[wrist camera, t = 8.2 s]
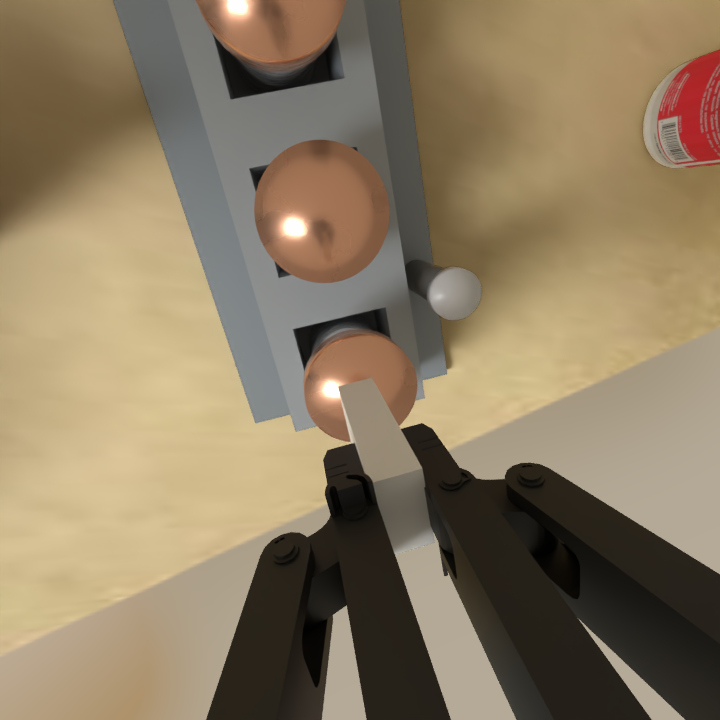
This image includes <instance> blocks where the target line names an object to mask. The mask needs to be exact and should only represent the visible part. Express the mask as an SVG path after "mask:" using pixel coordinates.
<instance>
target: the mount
mask: <svg viewBox="0 0 720 720" xmlns="http://www.w3.org/2000/svg"><path fill="white" fill-rule="evenodd" d="M113 2H114V5H115V8H116V11H117V14H118V17H119V20H120V23H121V26H122V29H123V32H124V35H125V38H126V41H127V44H128V47H129V50H130V53H131V56H132V58H133V61H134V64H135V67H136V70H137V73H138V76H139V79H140V82H141V85H142V88H143V91H144V94H145V97H146V100H147V103H148V106H149V109H150V112H151V115H152V118H153V121H154V124H155V127H156V130H157V133H158V136H159V139H160V142H161V145H162V147H163V150H164V153H165V156H166V159H167V162H168V165H169V168H170V171H171V174H172V177H173V180H174V183H175V186H176V189H177V192H178V195H179V198H180V201H181V204H182V207H183V210H184V213H185V216H186V219H187V222H188V225H189V228H190V231H191V234H192V236H193V239H194V242H195V245H196V248H197V251H198V254H199V257H200V260H201V263H202V266H203V269H204V272H205V275H206V278H207V281H208V284H209V287H210V290H211V293H212V296H213V299H214V302H215V305H216V308H217V311H218V314H219V317H220V320H221V323H222V325H223V328H224V331H225V334H226V337H227V340H228V343H229V346H230V349H231V352H232V355H233V358H234V361H235V364H236V367H237V370H238V373H239V376H240V379H241V382H242V385H243V388H244V391H245V394H246V397H247V400H248V403H249V406H250V409H251V412H252V414H253V417H254V420H255V423H259V422H262V421H266V420H270V419H274V418H278V417H282V416H286V415H290V414H291V418H292V421H293V424H294V428H295V431H296V432H297V431H301V430H305V429H308V428H312V427H316V426H317V425H316V424H315V423H314V421H313V420H312V419H311V417H310V415H309V413H308V410H307V407H306V403H305V397H304V386H303V378H304V371H305V367H306V365H307V362H308V360H309V358H310V356H311V355H310V349H309V343H308V338H309V332H310V329H311V327H312V325H313V324H317V323H321V322H325V321H329V320H334V319H338V318H342V317H346V316H350V315H354V314H359V315H360V316H362V317H363V318H364V319H365V321H366V322H367V323H368V325H369V326H370V327H371V329H372V330H373V331H377V332H380V333H382V334H384V335H386V336H388V337H389V338H390V339H392V340H393V341H394V342H395V343H396V344H397V345H398V346H399V347H400V348H401V349H402V351H403V352H404V353H405V354H406V355H407V357H408V358H409V359H410V361H411V363H412V364H413V367H414V369H415V372H416V376H417V395H416V399H415V401H416V400H419V399H423V398H425V395H424V389H423V382H422V380H426V379H430V378H434V377H437V376H441V375H445V374H447V368H446V361H445V353H444V345H443V337H442V329H441V322H440V315H438V314H437V313H435V312H434V311H433V310H432V309H431V307H430V306H429V304H428V301H427V300H426V299H424V298H422V297H421V296H419V295H418V294H416V293H414V292H413V291H411V290H410V289H408V285H407V279H406V272H405V266H406V264H407V263H409V262H410V261H412V260H423V261H425V262H428V263H431V264H433V259H432V252H431V244H430V236H429V228H428V221H427V213H426V205H425V197H424V189H423V182H422V174H421V166H420V158H419V150H418V143H417V135H416V127H415V119H414V112H413V104H412V96H411V88H410V80H409V73H408V65H407V57H406V49H405V42H404V34H403V26H402V18H401V10H400V3H399V0H346V3H345V7H344V10H343V14H342V17H341V20H340V23H339V26H338V29H337V31H336V33H335V36H334V38H333V39H332V41H331V42H330V44H329V46H328V47H327V48H326V49H325V51H324V52H323V53H322V54H321V55H320V56H319V57H318V58H316V63H315V69H314V72H313V76H312V78H311V80H310V82H309V84H308V85H306V86H301V87H295V88H290V89H285V90H279V91H274V92H269V93H263V94H258V93H256V92H255V91H254V90H252V89H251V88H250V87H249V86H248V85H247V83H246V82H245V81H244V79H243V78H242V76H241V75H240V73H239V71H238V68H237V66H236V63H235V60H234V57H233V55H232V54H231V53H230V52H229V51H228V50H226V49H225V48H224V47H223V45H222V44H221V43H220V42H219V41H218V40H217V39H216V37H215V36H214V35H213V33H212V32H211V30H210V29H209V27H208V25H207V24H206V22H205V20H204V18H203V16H202V14H201V12H200V9H199V7H198V5H197V3H196V0H113ZM309 140H330V141H336V142H339V143H342V144H345V145H347V146H349V147H351V148H353V149H354V150H356V151H357V152H359V153H360V154H362V155H363V156H364V157H365V158H366V159H367V160H368V161H369V162H370V163H371V164H372V165H373V167H374V168H375V169H376V171H377V172H378V174H379V176H380V178H381V180H382V182H383V184H384V186H385V189H386V192H387V196H388V201H389V210H390V213H389V226H388V231H387V235H386V238H385V240H384V243H383V245H382V247H381V249H380V251H379V253H378V254H377V255H376V257H375V258H374V260H373V261H372V262H371V263H370V264H369V265H368V266H367V267H366V268H364V269H363V270H362V271H361V272H359V273H358V274H356V275H354V276H352V277H350V278H348V279H345V280H342V281H339V282H333V283H314V282H309V281H305V280H302V279H300V278H297V277H295V276H293V275H291V274H290V273H288V272H287V271H285V270H284V269H282V268H281V267H280V266H279V265H278V264H277V263H276V262H275V261H274V260H273V259H272V258H271V256H270V255H269V254H268V252H267V251H266V249H265V248H264V246H263V244H262V242H261V240H260V237H259V234H258V231H257V228H256V223H255V215H254V202H255V196H256V191H257V187H258V184H259V181H260V179H261V177H262V175H263V173H264V172H265V170H266V168H267V167H268V165H269V164H270V163H271V162H272V161H273V160H274V158H276V157H277V156H278V155H279V154H280V153H281V152H283V151H284V150H286V149H287V148H289V147H291V146H293V145H295V144H298V143H301V142H304V141H309Z"/></svg>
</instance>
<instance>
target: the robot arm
mask: <svg viewBox="0 0 720 720" xmlns="http://www.w3.org/2000/svg"><path fill="white" fill-rule="evenodd" d="M338 390H339V395H340V399H341V403H342V407H343V411H344V415H345V419H346V424H347V428H348V432H349V436H350V440H351V444H349V445H345V446H341V447H338V448H334V449H331V450H327V453H326V455H325V457H324V460H323V461H324V467H325V473H326V478H327V484H328V485H327V487H326V490H325V496H326V500H327V503H328V507H329V510H330V514H331V516H330V518H329V520H328V522H327V523H326V524H325V525H324V526H323V527H322V528H321V529H320V530H318V531H317V532H316V533H314V534H312V535H311V536H309V537H306V536H305V535H303V534H301V533H293V532H290V533H287V534H283V535H280V536H278V537H277V538H275V539H273V540H272V541H271V542H270V543H269V544H268V545H267V546H266V547H265V548H264V550H263V552H262V554H261V556H260V559H259V562H258V565H257V568H256V571H255V574H254V577H253V580H252V583H251V586H250V589H249V592H248V595H247V598H246V601H245V604H244V607H243V610H242V613H241V616H240V619H239V622H238V625H237V628H236V632H235V634H234V638H233V641H232V643H231V646H230V649H229V652H228V656H227V658H226V661H225V664H224V668H223V671H222V674H221V677H220V680H219V683H218V686H217V689H216V692H215V695H214V698H213V701H212V704H211V707H210V710H209V713H208V716H207V719H206V720H322V711H323V703H324V694H325V684H326V676H327V668H328V659H329V649H330V640H331V632H332V624H333V614H335V613H336V612H337V611H339V610H340V609H342V608H343V607H345V606H346V605H347V609H348V615H349V620H350V625H351V632H352V638H353V643H354V649H355V655H356V660H357V666H358V672H359V678H360V683H361V689H362V695H363V701H364V707H365V712H366V718H367V720H451V719H450V716H449V713H448V710H447V707H446V704H445V701H444V698H443V695H442V692H441V689H440V686H439V684H438V681H437V677H436V675H435V672H434V669H433V666H432V663H431V660H430V657H429V654H428V651H427V648H426V645H425V642H424V640H423V636H422V633H421V630H420V627H419V624H418V622H417V618H416V616H415V613H414V610H413V607H412V604H411V601H410V598H409V595H408V592H407V589H406V586H405V583H404V580H403V578H402V574H401V571H400V569H399V566H398V562H397V559H396V557H395V555H396V554H400V553H403V552H406V551H409V550H412V549H416V548H419V547H422V546H425V545H429V544H432V543H434V542H435V540H434V535H433V532H434V534H435V536H436V538H437V540H438V542H439V548H440V554H441V560H442V567H443V572H444V576H447V575H448V573H449V575H450V577H451V579H452V581H453V584H454V586H455V588H456V590H457V592H458V594H459V597H460V599H461V601H462V603H463V605H464V607H465V609H466V612H467V614H468V616H469V618H470V620H471V622H472V624H473V627H474V629H475V631H476V633H477V635H478V638H479V640H480V642H481V644H482V646H483V648H484V651H485V653H486V655H487V657H488V659H489V661H490V663H491V665H492V668H493V670H494V672H495V674H496V676H497V679H498V681H499V683H500V685H501V687H502V689H503V691H504V694H505V696H506V698H507V700H508V702H509V704H510V707H511V709H512V711H513V713H514V715H515V717H516V719H517V720H651V718H650V717H649V715H648V714H647V713H646V712H645V710H644V709H643V707H642V706H641V705H640V703H639V702H638V701H637V699H636V698H635V696H634V695H633V694H632V692H631V691H630V689H629V688H628V687H627V685H626V684H625V683H624V681H623V680H622V678H621V677H620V676H619V674H618V673H617V672H616V670H615V669H614V668H613V666H612V665H611V663H610V662H609V661H608V659H607V658H606V656H605V655H604V654H603V652H602V651H601V650H600V648H599V647H598V645H597V644H596V643H595V641H594V640H593V639H592V637H591V636H590V635H589V633H588V632H587V630H586V629H585V628H584V626H583V625H582V623H581V622H580V621H579V619H580V620H581V621H582V622H583V623H584V624H585V625H586V626H587V627H588V628H589V629H590V630H591V631H592V632H593V633H594V634H596V636H598V637H599V638H600V639H601V640H602V641H603V642H604V643H605V644H606V645H607V646H608V647H609V648H610V649H611V650H612V651H614V653H616V654H617V655H618V656H619V657H620V658H621V659H622V660H623V661H624V662H625V663H626V664H627V665H628V666H629V667H630V668H631V669H633V670H634V671H635V672H636V673H637V674H638V675H639V676H640V677H641V678H642V679H643V680H644V681H645V682H646V683H647V684H648V685H649V686H650V687H651V688H653V689H654V690H655V691H656V692H657V693H658V694H659V695H660V696H661V697H662V698H663V699H664V700H665V701H666V702H667V703H668V704H669V705H671V706H672V707H673V708H674V709H675V710H676V711H677V712H678V713H679V714H680V715H681V716H682V717H683V718H684V719H685V720H720V574H718V573H717V572H715V571H713V570H712V569H710V568H709V567H707V566H705V565H704V564H702V563H700V562H699V561H697V560H696V559H694V558H692V557H691V556H689V555H688V554H686V553H684V552H683V551H681V550H680V549H678V548H676V547H675V546H673V545H671V544H670V543H668V542H667V541H665V540H663V539H662V538H660V537H658V536H657V535H655V534H654V533H652V532H651V531H649V530H647V529H646V528H644V527H643V526H641V525H639V524H638V523H636V522H634V521H633V520H631V519H630V518H628V517H626V516H625V515H623V514H622V513H620V512H618V511H617V510H615V509H614V508H612V507H610V506H609V505H607V504H606V503H604V502H602V501H601V500H599V499H597V498H596V497H594V496H593V495H591V494H589V493H588V492H586V491H585V490H583V489H581V488H580V487H578V486H577V485H575V484H573V483H572V482H570V481H569V480H567V479H565V478H564V477H562V476H560V475H559V474H557V473H555V472H554V471H552V470H551V469H549V468H547V467H545V466H543V465H540V464H534V463H520V464H518V465H514V466H512V467H511V468H510V469H508V470H507V472H506V475H505V479H500V480H481V479H476V478H475V477H474V476H473V475H472V474H471V473H470V472H469V471H467V470H464V469H462V468H459V466H458V465H457V463H456V462H455V461H454V459H453V458H452V456H451V455H450V453H449V452H448V451H447V449H446V448H445V446H444V445H443V443H442V442H441V441H440V439H438V436H437V435H436V433H435V432H434V431H433V429H432V428H430V427H428V426H426V425H424V424H422V423H421V424H418V425H414V426H410V427H407V428H403V429H400V427H399V425H398V423H397V422H396V420H395V418H394V416H393V414H392V413H391V411H390V409H389V407H388V405H387V404H386V402H385V400H384V398H383V396H382V395H381V393H380V391H379V389H378V387H377V386H376V384H375V382H374V380H373V378H368V379H365V380H361V381H357V382H353V383H349V384H345V385H342V386H338ZM447 571H448V572H447ZM578 618H579V619H578Z"/></svg>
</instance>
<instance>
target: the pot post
mask: <svg viewBox="0 0 720 720" xmlns="http://www.w3.org/2000/svg"><path fill="white" fill-rule="evenodd" d="M405 272H406V279H407V285H408V289H410V290H411V291H413V292H414V293H416V294H418V295H419V296H421V297H422V298H424V299H426V300H427V301H428V304H429V306H430V307H431V309H432V310H433V311H434V312H435V313H437V314H438V315H440V316H441V317H443V318H445V319H447V320H453V321H454V320H461V319H464V318H466V317H467V316H469V315H470V314H471V313H472V312H474V310H475V309H476V308H477V306H478V304H479V302H480V299H481V293H482V289H481V284H480V281H479V279H478V278H477V277H476V275H475V274H474V273H472V272H471V271H469V270H466V269H463V268H460V267H447V268H442V267H439V266H436V265H434V264H431V263H428V262H425V261H423V260H412V261H410V262H409V263H407V264H406V266H405Z"/></svg>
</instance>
